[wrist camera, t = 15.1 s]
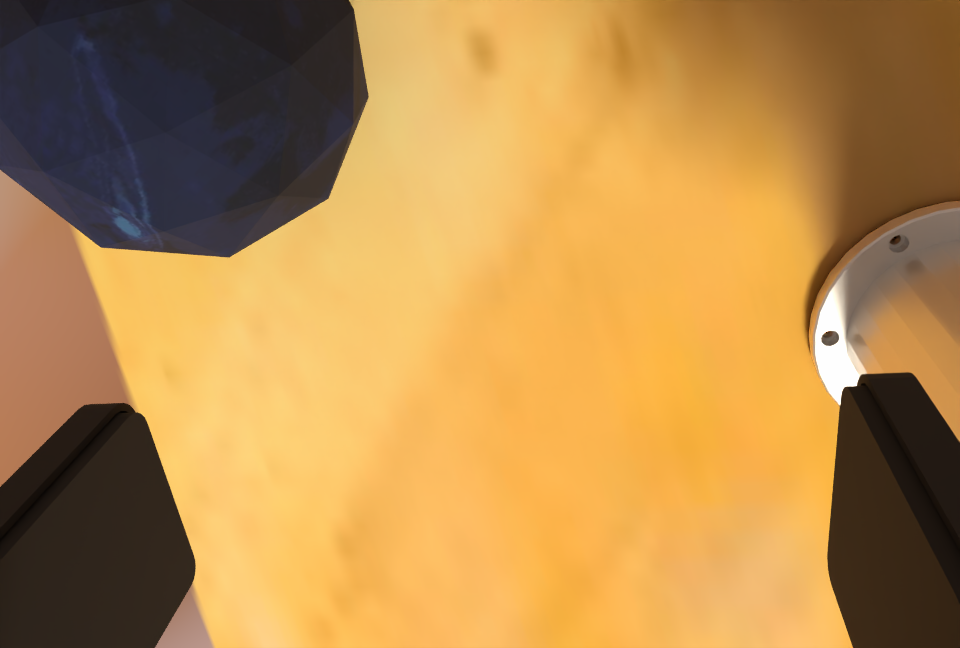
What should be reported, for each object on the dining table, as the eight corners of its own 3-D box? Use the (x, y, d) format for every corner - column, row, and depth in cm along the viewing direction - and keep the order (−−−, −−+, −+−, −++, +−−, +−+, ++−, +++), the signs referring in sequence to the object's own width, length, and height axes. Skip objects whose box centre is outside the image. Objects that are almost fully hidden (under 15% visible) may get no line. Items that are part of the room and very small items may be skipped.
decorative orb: (210, 333, 40) (217, 334, 26) (-73, 116, 36) (-248, -25, 22) (394, 117, 43) (492, 10, 29) (151, -104, 39) (124, -353, 25)
